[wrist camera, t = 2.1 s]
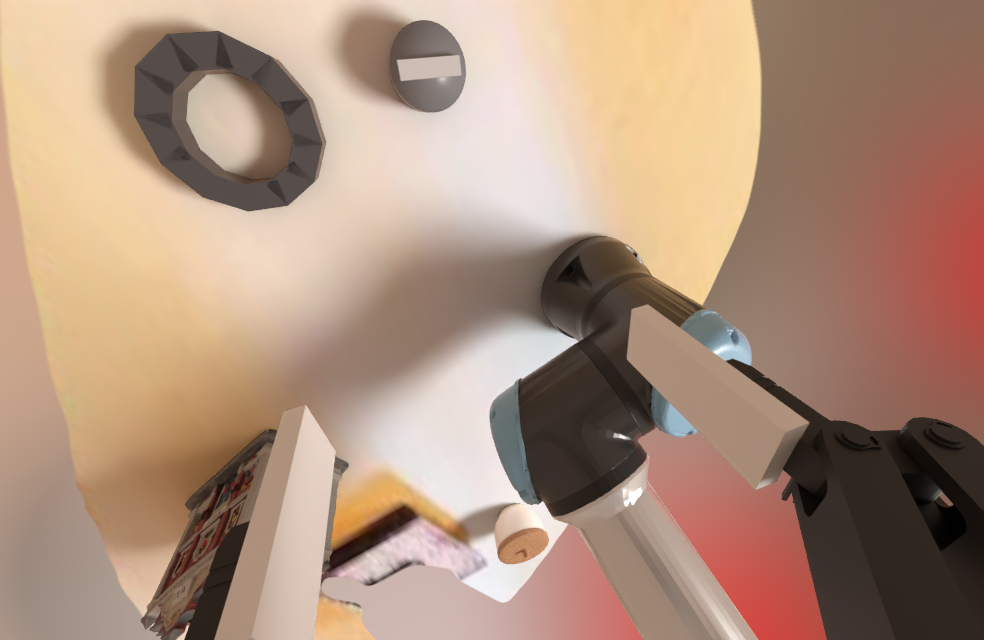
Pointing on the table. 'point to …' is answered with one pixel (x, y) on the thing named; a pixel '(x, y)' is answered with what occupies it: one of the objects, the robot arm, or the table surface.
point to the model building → (217, 534)
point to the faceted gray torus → (165, 127)
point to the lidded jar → (519, 534)
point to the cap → (427, 66)
